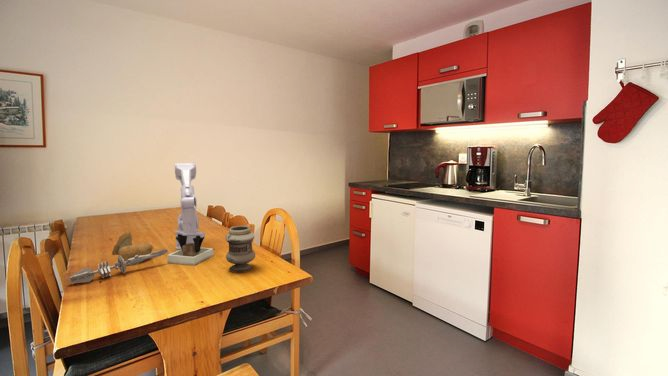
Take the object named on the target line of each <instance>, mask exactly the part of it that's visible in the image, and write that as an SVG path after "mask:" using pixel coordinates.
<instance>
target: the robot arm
mask: <svg viewBox="0 0 668 376" xmlns="http://www.w3.org/2000/svg"><path fill="white" fill-rule="evenodd" d="M174 174H175V179H176V180H178V181H179V182H180V184H181V186H180V199H179V200H180V209H181V213H179V215H177V230H175V231H174V233H175V235H174V236H175V241H176V244H175V245H176V247H175V249H176V250H177V249H178V250H181V249H182V251H183V247H182V246H183V245H186V244H188V243H194V244H195V252H196V253H197V252H200V248H201V247H202V245H203V244H202V243H203V241H204V240H205V237H206V233H205V231H204V232H203V231H198V229H200V223H199V215H198V214H197V212H196V211H197V206H198V205H197V198H196V194H195V188H194V186H193V184H192V181H193V180H195V179H196V176H197V165H196V163H195V162H175V163H174Z"/></svg>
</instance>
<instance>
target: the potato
mask: <svg viewBox="0 0 668 376" xmlns="http://www.w3.org/2000/svg"><path fill="white" fill-rule="evenodd" d="M153 249H154V246H153V245H152V244H151V243H146V242H145V243H144V242H143V243H142V242H141V243H134V244H132V245H129V246H124V247H122V248H120V249H119V251H118V254H117V256H119V255H121V257H122V258H123V259H124V262H125V261H127V260H128V259H129V258H130V259H131V258H134V257H135V256H136V255H138V256H141V255H147V254H151V253H153Z"/></svg>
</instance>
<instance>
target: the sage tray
mask: <svg viewBox="0 0 668 376" xmlns="http://www.w3.org/2000/svg"><path fill="white" fill-rule="evenodd" d="M166 257H167V258H166V260H167V263H168V264H176V265H177V264H179V265H186V266H197V265H198V264H200V263H202V262H203V261H206V260H208V259H210V258H212V257H214V248H211V247H202V246H201V248H200V252H199V254H198V255H196V256H194V257H189V256H183V251H182V249H178V250H176V251H173V252H171V253H169V254H167V255H166Z"/></svg>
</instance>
